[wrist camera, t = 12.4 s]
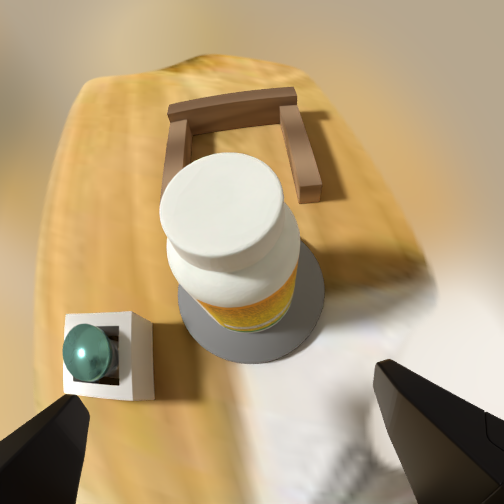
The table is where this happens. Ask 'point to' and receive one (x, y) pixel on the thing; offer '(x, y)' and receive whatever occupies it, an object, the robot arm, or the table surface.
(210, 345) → the rubber pad
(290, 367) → the table surface
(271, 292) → the supplement bottle
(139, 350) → the plunger block
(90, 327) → the plunger
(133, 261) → the table surface
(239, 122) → the housing rails
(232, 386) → the table surface
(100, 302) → the table surface
